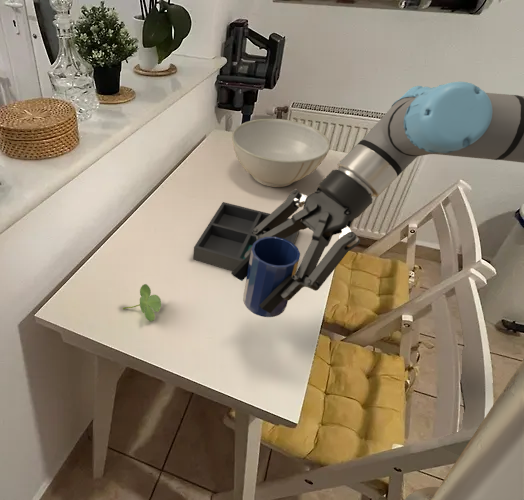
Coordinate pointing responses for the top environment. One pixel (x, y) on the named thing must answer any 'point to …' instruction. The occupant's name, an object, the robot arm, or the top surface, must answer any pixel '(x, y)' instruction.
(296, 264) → the cup
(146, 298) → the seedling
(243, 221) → the tray
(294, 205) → the robot arm
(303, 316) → the top surface
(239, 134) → the decorative bowl
